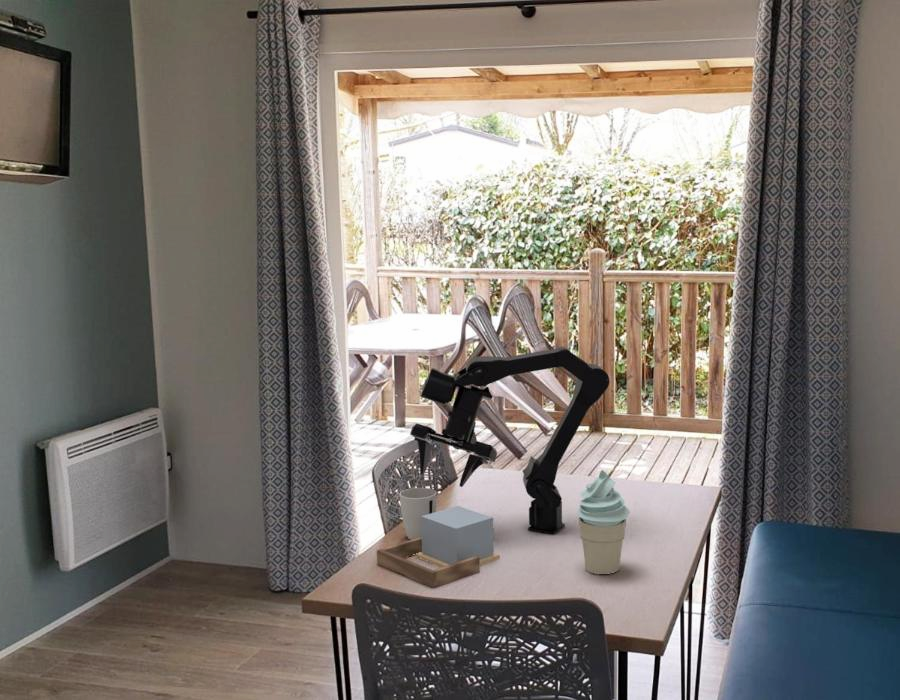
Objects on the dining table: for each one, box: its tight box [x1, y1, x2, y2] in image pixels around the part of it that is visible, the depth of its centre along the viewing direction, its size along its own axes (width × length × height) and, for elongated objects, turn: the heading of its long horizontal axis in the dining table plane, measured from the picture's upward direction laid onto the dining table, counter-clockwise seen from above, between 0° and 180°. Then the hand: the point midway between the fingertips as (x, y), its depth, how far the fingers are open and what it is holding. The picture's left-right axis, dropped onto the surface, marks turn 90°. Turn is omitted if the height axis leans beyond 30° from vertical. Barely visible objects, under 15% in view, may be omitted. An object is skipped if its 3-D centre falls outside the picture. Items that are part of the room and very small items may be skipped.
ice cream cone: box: [577, 469, 630, 575], centre depth 196 cm, size 10×11×20 cm
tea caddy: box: [415, 505, 501, 568], centre depth 205 cm, size 12×12×9 cm
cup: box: [399, 487, 438, 540], centre depth 219 cm, size 8×8×10 cm
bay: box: [376, 537, 481, 589], centre depth 200 cm, size 12×18×3 cm
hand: (441, 480), depth 215 cm, fingers open, 9 cm apart
